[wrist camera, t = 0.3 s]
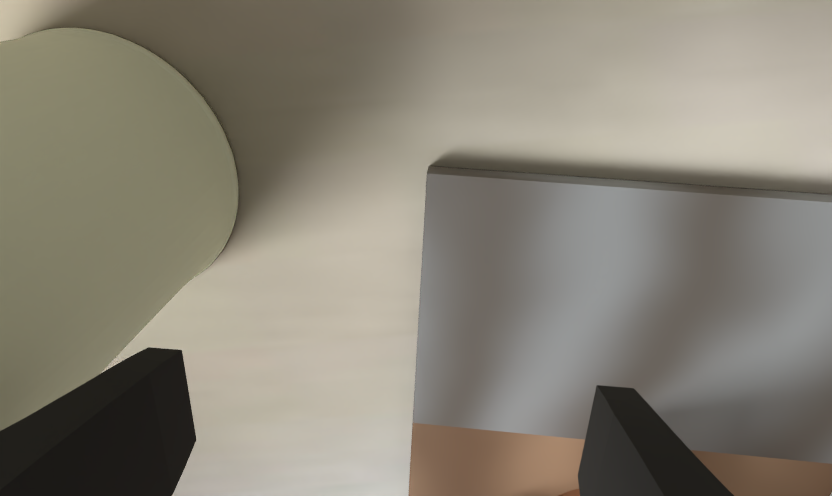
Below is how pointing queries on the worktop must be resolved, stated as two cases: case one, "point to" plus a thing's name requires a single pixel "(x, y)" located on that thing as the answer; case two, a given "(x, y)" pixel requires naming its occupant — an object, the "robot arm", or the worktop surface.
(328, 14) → the worktop surface
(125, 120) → the can
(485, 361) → the cradle
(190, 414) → the robot arm
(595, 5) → the worktop surface
